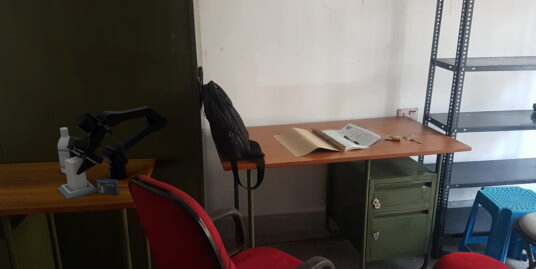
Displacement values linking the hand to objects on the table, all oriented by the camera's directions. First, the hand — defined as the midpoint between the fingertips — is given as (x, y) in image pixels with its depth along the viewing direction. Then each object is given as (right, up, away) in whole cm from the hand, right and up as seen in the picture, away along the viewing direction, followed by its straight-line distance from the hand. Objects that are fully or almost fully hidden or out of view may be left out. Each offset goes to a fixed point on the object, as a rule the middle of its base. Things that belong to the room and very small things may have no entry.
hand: (72, 171), depth 170 cm
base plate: (+1, -8, +4) cm, 9 cm away
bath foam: (-11, -2, +23) cm, 25 cm away
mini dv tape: (+14, -9, +2) cm, 17 cm away
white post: (+1, -7, +4) cm, 8 cm away
